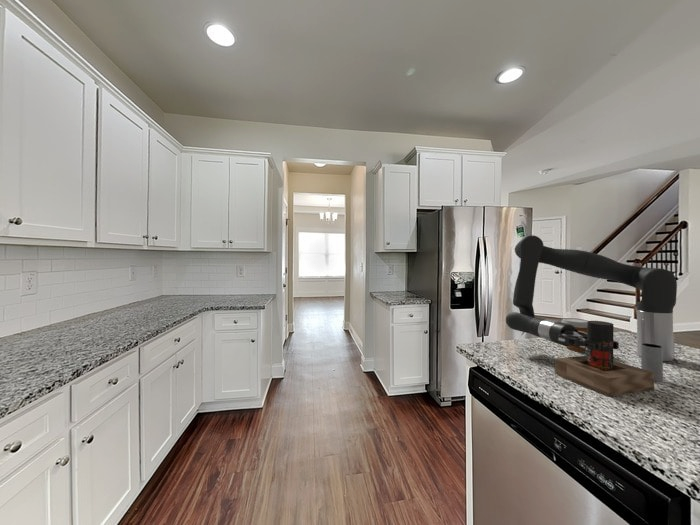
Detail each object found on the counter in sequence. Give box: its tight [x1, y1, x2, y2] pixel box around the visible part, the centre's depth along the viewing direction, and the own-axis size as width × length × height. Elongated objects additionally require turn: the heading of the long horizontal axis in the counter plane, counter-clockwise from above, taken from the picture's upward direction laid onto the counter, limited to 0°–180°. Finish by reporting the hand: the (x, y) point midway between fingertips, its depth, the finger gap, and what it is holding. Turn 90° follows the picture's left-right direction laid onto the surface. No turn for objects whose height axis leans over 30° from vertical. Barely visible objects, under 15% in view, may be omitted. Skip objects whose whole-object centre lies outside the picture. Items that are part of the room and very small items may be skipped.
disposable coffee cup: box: [560, 317, 589, 352], centre depth 118 cm, size 10×10×12 cm
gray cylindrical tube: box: [640, 343, 664, 383], centre depth 88 cm, size 4×4×10 cm
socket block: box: [554, 354, 655, 398], centre depth 87 cm, size 16×16×5 cm
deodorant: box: [586, 320, 614, 371], centre depth 87 cm, size 6×6×15 cm
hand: (608, 346), depth 84 cm, fingers closed on deodorant, 6 cm apart
